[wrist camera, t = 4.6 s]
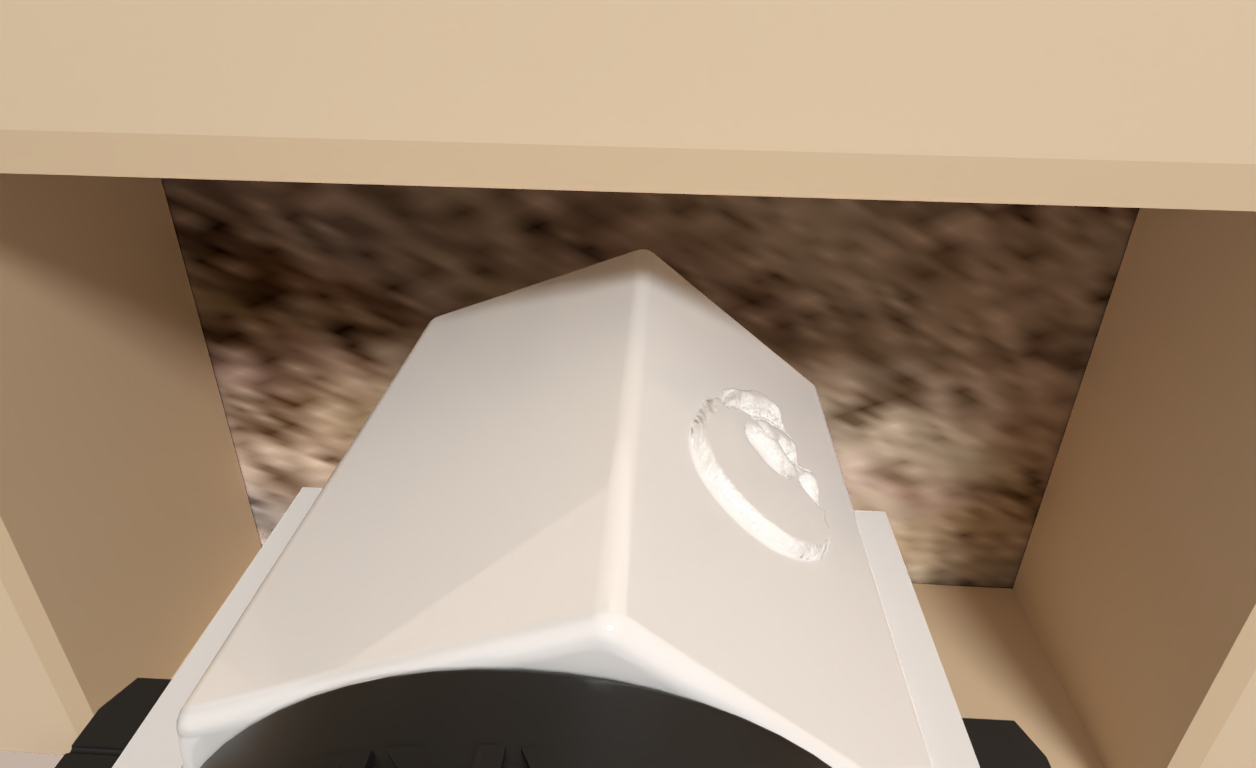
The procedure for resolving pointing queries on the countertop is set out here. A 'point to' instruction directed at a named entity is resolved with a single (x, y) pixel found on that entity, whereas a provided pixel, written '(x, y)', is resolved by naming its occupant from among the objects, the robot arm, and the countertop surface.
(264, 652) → the jar
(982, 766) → the robot arm
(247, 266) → the countertop surface
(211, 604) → the carton
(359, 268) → the countertop surface
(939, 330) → the countertop surface
